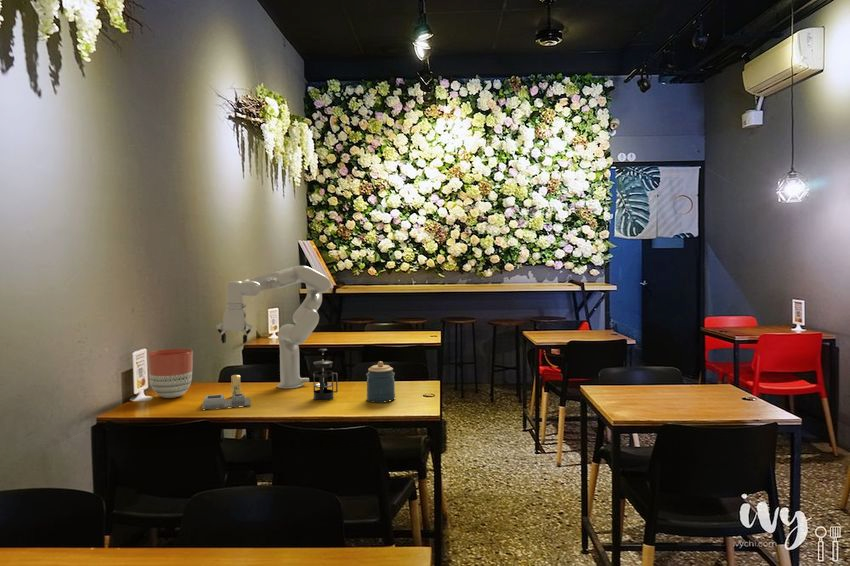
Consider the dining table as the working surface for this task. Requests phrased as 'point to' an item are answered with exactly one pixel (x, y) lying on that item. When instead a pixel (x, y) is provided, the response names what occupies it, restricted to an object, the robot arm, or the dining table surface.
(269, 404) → the dining table surface
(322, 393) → the french press
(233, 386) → the tan cylinder
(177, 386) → the planter
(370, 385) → the canister
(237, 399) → the manifold
